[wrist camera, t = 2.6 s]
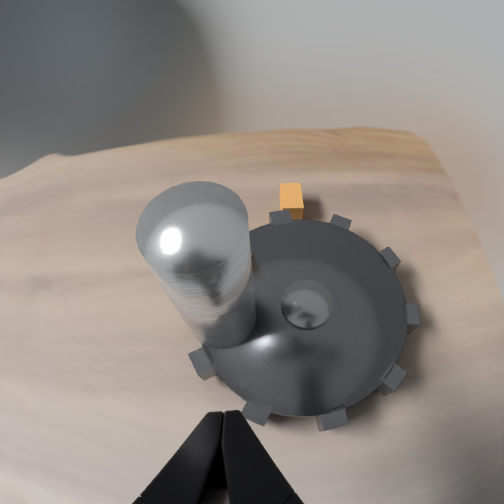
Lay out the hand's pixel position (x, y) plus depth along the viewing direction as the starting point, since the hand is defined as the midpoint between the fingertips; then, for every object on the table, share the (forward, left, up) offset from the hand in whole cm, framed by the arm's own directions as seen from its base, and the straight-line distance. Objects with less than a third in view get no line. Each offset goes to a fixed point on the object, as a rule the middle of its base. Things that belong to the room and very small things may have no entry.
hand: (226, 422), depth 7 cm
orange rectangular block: (+9, -14, -12) cm, 20 cm away
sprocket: (+2, -7, -12) cm, 14 cm away
